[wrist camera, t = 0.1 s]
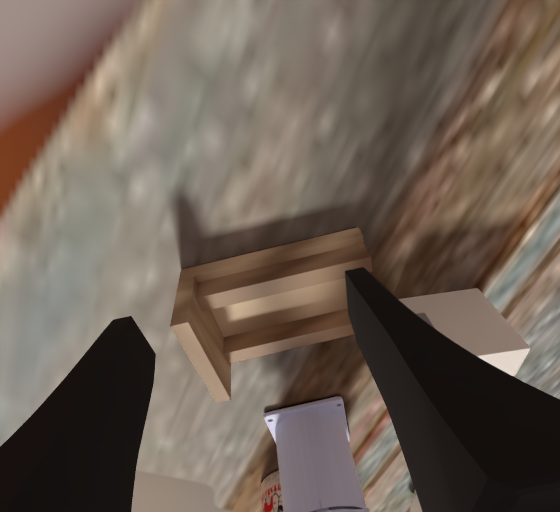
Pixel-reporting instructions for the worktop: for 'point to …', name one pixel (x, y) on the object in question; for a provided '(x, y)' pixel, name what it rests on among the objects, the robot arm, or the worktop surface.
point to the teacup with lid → (271, 493)
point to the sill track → (265, 303)
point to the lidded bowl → (415, 504)
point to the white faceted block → (473, 326)
